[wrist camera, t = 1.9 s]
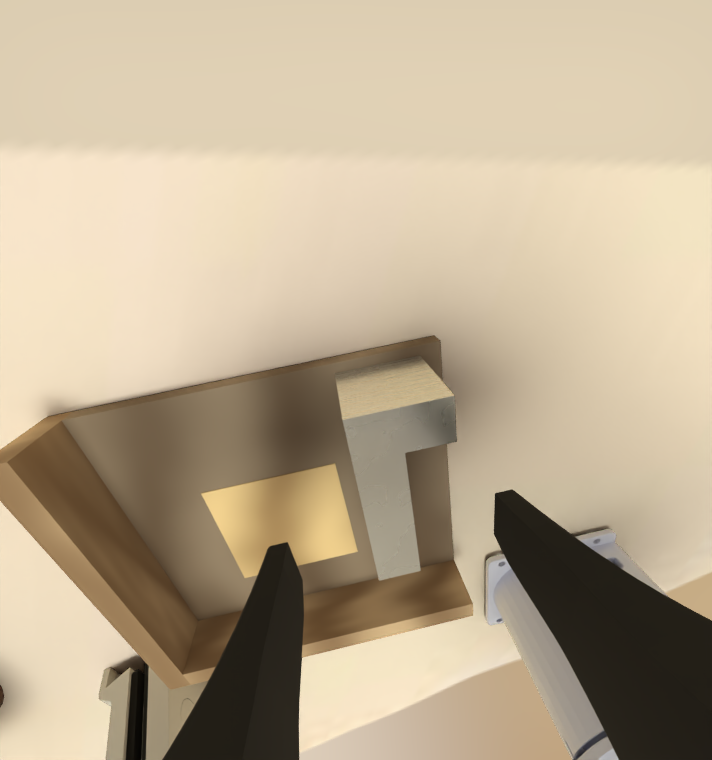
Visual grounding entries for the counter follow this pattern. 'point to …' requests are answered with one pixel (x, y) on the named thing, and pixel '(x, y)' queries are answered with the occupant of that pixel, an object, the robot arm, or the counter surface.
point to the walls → (156, 591)
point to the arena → (256, 478)
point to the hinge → (144, 713)
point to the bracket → (392, 448)
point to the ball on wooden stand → (1, 696)
